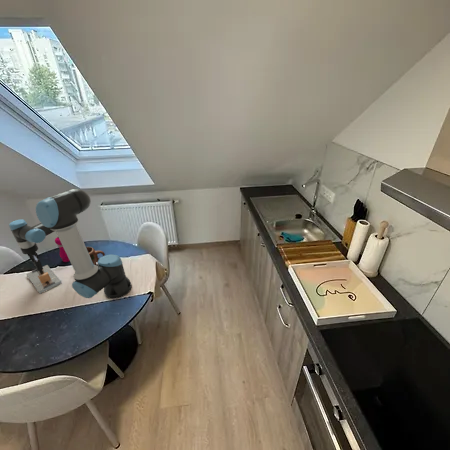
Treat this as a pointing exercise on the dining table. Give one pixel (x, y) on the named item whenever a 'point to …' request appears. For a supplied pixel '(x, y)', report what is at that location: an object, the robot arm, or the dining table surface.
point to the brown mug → (94, 254)
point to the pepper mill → (62, 250)
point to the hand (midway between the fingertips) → (43, 276)
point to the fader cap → (44, 277)
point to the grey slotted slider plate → (47, 285)
